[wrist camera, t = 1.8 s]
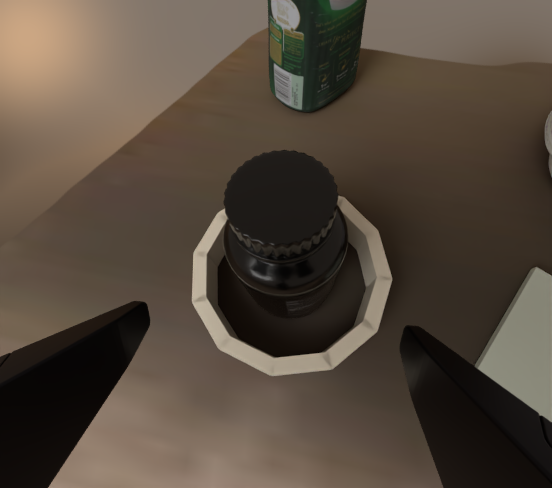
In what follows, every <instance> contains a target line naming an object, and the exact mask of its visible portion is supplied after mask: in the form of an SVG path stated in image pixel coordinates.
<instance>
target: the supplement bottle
mask: <svg viewBox="0 0 552 488" xmlns="http://www.w3.org/2000/svg"><path fill="white" fill-rule="evenodd" d="M224 194H225V199H224V205H225V214H226V216H227V221H226V223H225V227H224V233H223V246H224V252H225V255H226V258H227V261H228V263H229V265H230V267H231V268H232V270H233V272H234V273H235V275H236V276H237V277H238V279H239V280H240V281H241V283H242V284H243V285H244V287H245V288H246V289H247V291H248V292H249V293H250V295H251V296H252V297H253V299H254V300H255V301H256V302H257V304H258V305H259V306H260V307H261V308H262V309H264V310H265V311H267V312H268V313H270V314H272V315H274V316H277V317H281V318H290V319H292V318H299V317H303V316H306V315H308V314H310V313H312V312H314V311H315V310H316V309H318V308H319V307H320V306H321V305H322V304H323V302H324V301H325V300H326V298H327V296H328V295H329V293H330V291H331V288H332V286H333V284H334V282H335V279H336V277H337V275H338V272H339V270H340V268H341V266H342V263H343V261H344V258H345V255H346V251H347V247H348V227H347V223H346V220H345V217H344V215H343V213H342V211H341V209H340V207H339V206H338V205H337V202H338V193H337V185H336V183H335V182H334V177H333V176H332V175H331V174H330V173H329V170H328V168H326V167H324V166H323V164H322V163H321V162H320V161H317V160H315V158H314V157H312V156H307V155H306V154H305V153H298V152H296V151H287V150H281V151H272V152H269V153H263V154H261V155H260V156H254V157H253V158H252V159H251V160H248V161H246V162H245V163H244V164H243V165H242V166H240V167H239V168H238V169H237V171H236V172H235V173H234V174H233V175H232V176H231V180H230V181H229V182H228V183H227V189H226V190H225V192H224Z"/></svg>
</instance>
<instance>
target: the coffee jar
mask: <svg viewBox="0 0 552 488" xmlns="http://www.w3.org/2000/svg"><path fill="white" fill-rule="evenodd" d="M366 2H367V0H268V18H269V19H268V20H269V22H268V23H269V78H270V88H271V91H272V93H273V94H274V95H275V97H276V98H277V99H278V100H279V101H280V102H281V103H282V104H284V105H285V106H287V107H288V108H291V109H294V110H297V111H302V112H312V111H315V110H317V109H319V108H321V107H323V106H325V105H326V104H328V103H330V102H331V101H333V100H334V99H336V98H337V97H338V96H340V95H341V94H342V93H343V92H344V91H346V90H347V89H348V88H349V87H350V86H351V85H352V83H353V82H354V80H355V77H356V72H357V66H358V59H359V52H360V45H361V36H362V29H363V22H364V14H365V8H366Z"/></svg>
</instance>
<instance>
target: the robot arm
mask: <svg viewBox="0 0 552 488" xmlns="http://www.w3.org/2000/svg"><path fill="white" fill-rule="evenodd" d="M149 326H150V316H149V311H148V306H147V304H146V303H145V302H141V301H133V302H130V303H128V304H126V305H123V306H121V307H118V308H116V309H114V310H111V311H109V312H106V313H104V314H102V315H99V316H97V317H94V318H92V319H90V320H87V321H85V322H82V323H80V324H78V325H75V326H73V327H71V328H68V329H66V330H63V331H61V332H59V333H56V334H54V335H51V336H49V337H47V338H44V339H42V340H39V341H37V342H35V343H32V344H30V345H27V346H25V347H23V348H20V349H18V350H15V351H13V352H12V353H8V354H6V355H3V356H1V357H0V488H48V487H49V485H50V484H51V482H52V481H53V479H54V478H55V476H56V475H57V473H58V472H59V470H60V469H61V467H62V466H63V464H64V463H65V461H66V460H67V458H68V457H69V455H70V454H71V452H72V451H73V449H74V448H75V446H76V445H77V443H78V442H79V440H80V438H81V437H82V435H83V434H84V432H85V431H86V429H87V428H88V426H89V425H90V423H91V422H92V420H93V419H94V417H95V416H96V414H97V413H98V411H99V410H100V408H101V407H102V405H103V404H104V402H105V401H106V399H107V398H108V396H109V395H110V393H111V392H112V390H113V389H114V387H115V385H116V384H117V382H118V381H119V379H120V378H121V376H122V375H123V373H124V372H125V370H126V369H127V367H128V365H129V364H130V362H131V360H132V358H133V356H134V355H135V353H136V351H137V349H138V347H139V345H140V343H141V341H142V340H143V338H144V336H145V334H146V332H147V330H148V328H149ZM400 354H401V358H402V362H403V366H404V370H405V375H406V379H407V383H408V387H409V391H410V395H411V398H412V401H413V404H414V407H415V410H416V413H417V416H418V418H419V421H420V424H421V427H422V429H423V432H424V435H425V438H426V440H427V443H428V446H429V449H430V452H431V454H432V457H433V460H434V463H435V465H436V468H437V471H438V474H439V477H440V479H441V482H442V485H443V488H552V422H551V421H549V420H548V419H547V418H545V417H544V416H542V415H539V413H538V412H537V411H535V410H534V409H533V408H531V407H530V406H528V405H527V404H526V403H524V402H523V401H522V400H520V399H519V398H517V397H516V396H515V395H513V394H512V393H511V392H509V391H508V390H506V389H505V388H504V387H502V386H501V385H499V384H498V383H497V382H495V381H494V380H493V379H491V378H490V377H488V376H487V375H486V374H484V373H483V372H482V371H480V370H479V369H477V368H476V367H475V366H473V365H472V364H471V363H469V362H468V361H466V360H465V359H464V358H462V357H461V356H459V355H458V354H457V353H455V352H454V351H453V350H451V349H450V348H448V347H447V346H446V345H444V344H443V343H442V342H440V341H439V340H437V339H436V338H435V337H433V336H432V335H431V334H429V333H428V332H426V331H425V330H424V329H422V328H421V327H419V326H410V325H407V326H405V328H404V330H403V334H402V338H401V342H400Z"/></svg>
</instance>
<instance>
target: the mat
mask: <svg viewBox="0 0 552 488" xmlns="http://www.w3.org/2000/svg"><path fill="white" fill-rule="evenodd" d="M475 367H476V368H477V369H479V370H480V371H482V372H483V373H484V374H486V375H487V376H488V377H490V378H491V379H493V380H494V381H495V382H497V383H498V384H499V385H501V386H502V387H504V388H505V389H506V390H508V391H509V392H511V393H512V394H513V395H515V396H516V397H517V398H519V399H520V400H522V401H523V402H524V403H526V404H527V405H528V406H530V407H531V408H533V409H534V410H535V411H537V412H538V413H539V415H542V416H544V417H545V418H547V419H548V420H549V421H551V422H552V276H551V275H549V274H548V273H546V272H544V271H543V270H541V269H539V268H538V267H535V268H532V269H531V270H530V272H529V273H528V275H527V277H526V278H525V280H524V282H523V284H522V285H521V287H520V289H519V290H518V292H517V294H516V296H515V297H514V299H513V301H512V302H511V304H510V306H509V308H508V309H507V311H506V313H505V314H504V316H503V318H502V320H501V321H500V323H499V325H498V326H497V328H496V330H495V332H494V333H493V335H492V337H491V338H490V340H489V342H488V344H487V345H486V347H485V349H484V350H483V352H482V354H481V356H480V357H479V359H478V361H477V362H476V364H475Z"/></svg>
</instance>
